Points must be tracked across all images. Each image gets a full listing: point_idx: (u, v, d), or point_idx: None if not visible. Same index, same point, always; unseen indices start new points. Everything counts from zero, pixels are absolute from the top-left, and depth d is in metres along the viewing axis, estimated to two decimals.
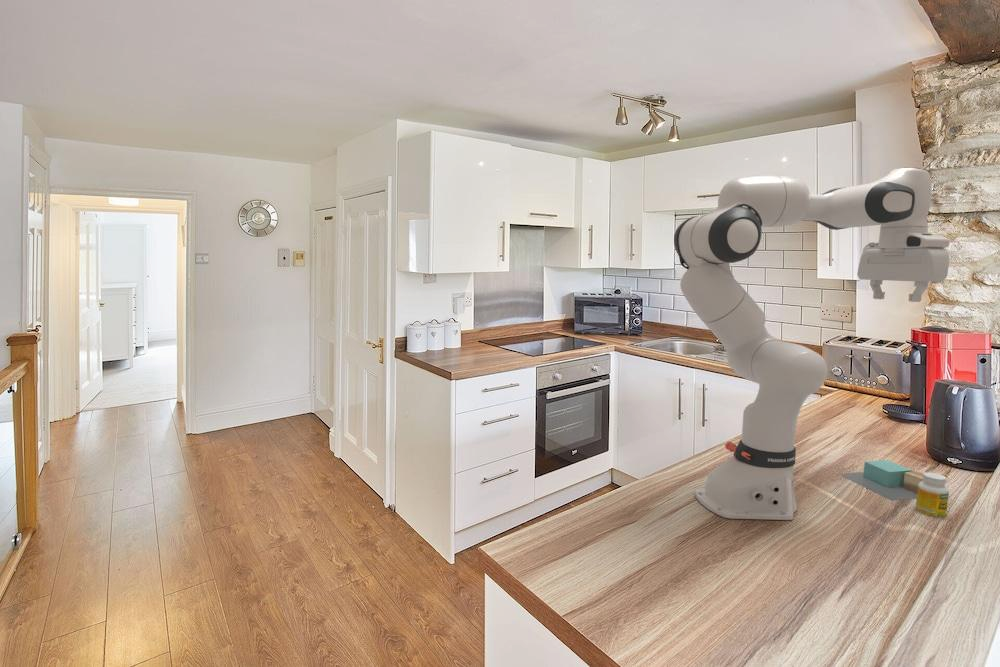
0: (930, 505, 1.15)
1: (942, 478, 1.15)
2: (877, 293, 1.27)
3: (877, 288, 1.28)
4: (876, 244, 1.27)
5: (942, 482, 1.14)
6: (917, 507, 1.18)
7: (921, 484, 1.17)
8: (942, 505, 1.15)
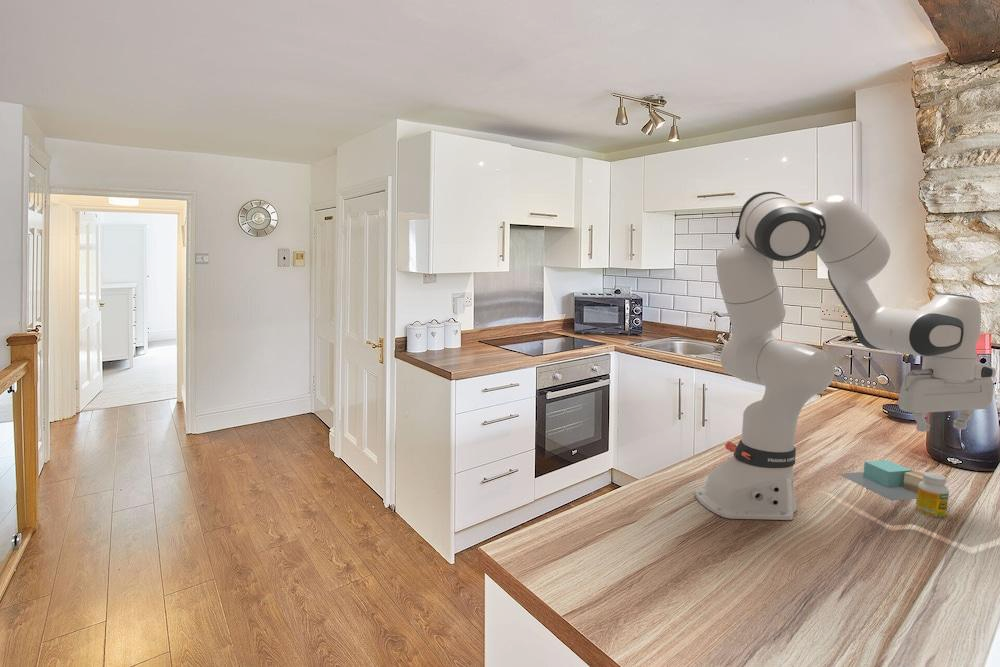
0: (930, 505, 1.15)
1: (942, 478, 1.15)
2: (929, 425, 1.13)
3: None
4: (924, 372, 1.12)
5: (942, 482, 1.14)
6: (917, 507, 1.18)
7: (921, 484, 1.17)
8: (942, 505, 1.15)
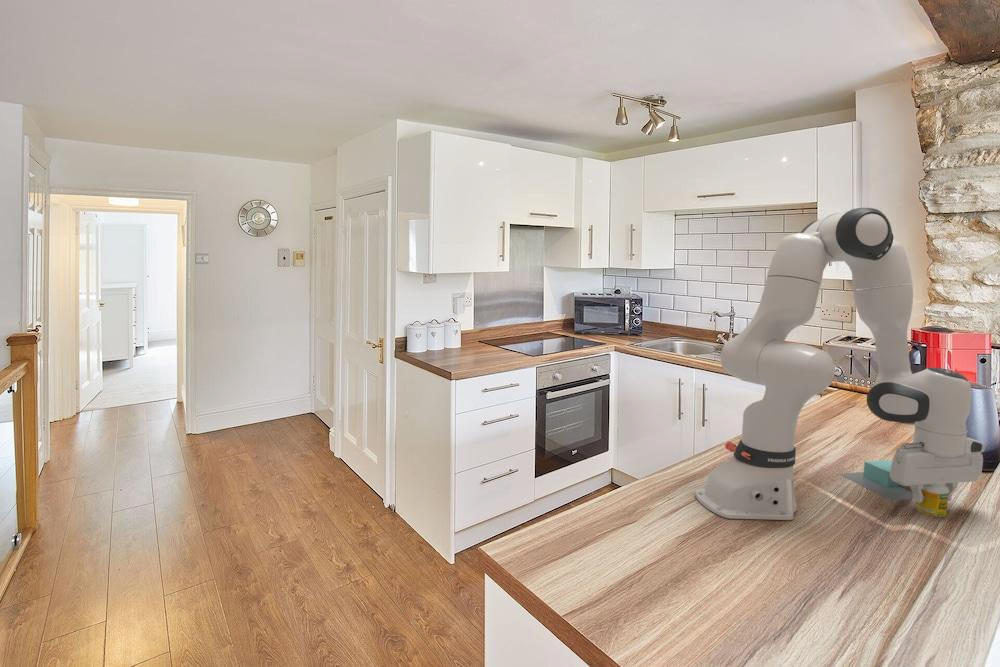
0: (930, 504, 1.15)
1: None
2: (924, 497, 1.16)
3: None
4: (916, 446, 1.14)
5: (942, 482, 1.14)
6: (917, 507, 1.18)
7: None
8: (942, 504, 1.15)
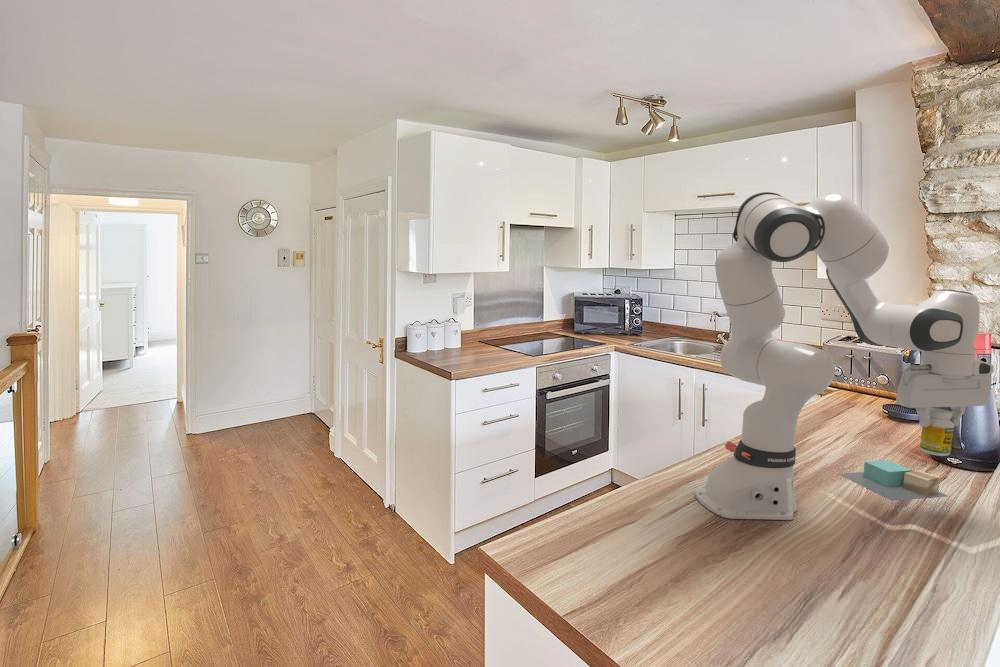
0: (935, 439, 1.14)
1: (948, 412, 1.14)
2: (931, 421, 1.14)
3: None
4: (923, 367, 1.12)
5: (947, 416, 1.13)
6: (921, 443, 1.17)
7: None
8: (947, 439, 1.13)
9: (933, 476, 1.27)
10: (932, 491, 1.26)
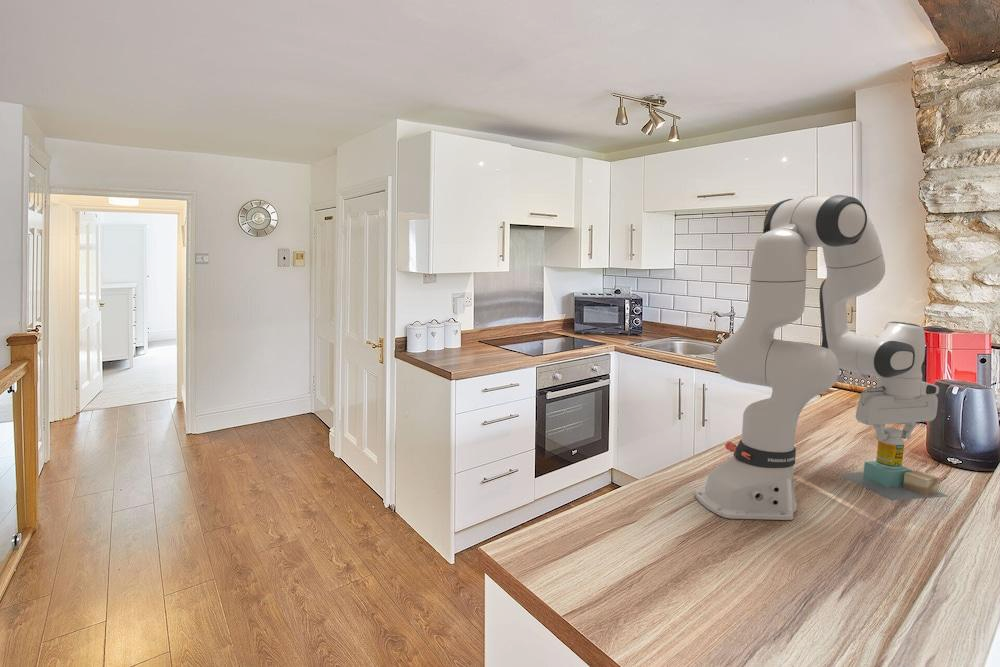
0: (888, 454, 1.31)
1: (898, 431, 1.31)
2: (886, 435, 1.31)
3: None
4: (877, 389, 1.29)
5: (898, 434, 1.31)
6: (877, 458, 1.34)
7: None
8: (898, 454, 1.31)
9: (933, 476, 1.27)
10: (932, 491, 1.26)
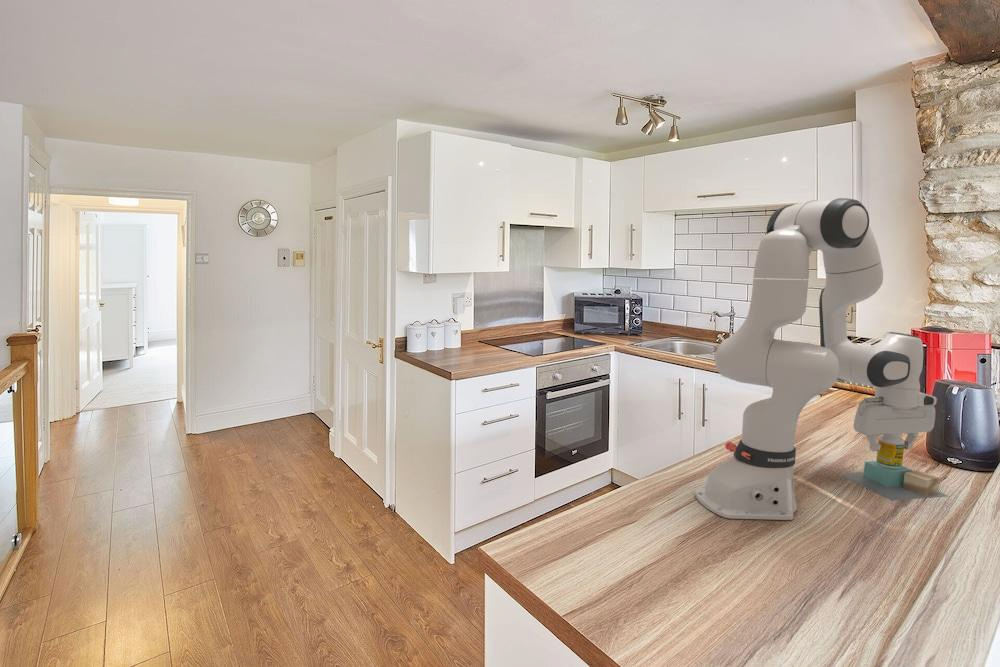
0: (888, 454, 1.31)
1: None
2: (879, 446, 1.31)
3: None
4: (875, 400, 1.30)
5: (898, 434, 1.31)
6: (877, 457, 1.34)
7: (881, 437, 1.33)
8: (898, 454, 1.31)
9: (933, 476, 1.27)
10: (932, 491, 1.26)
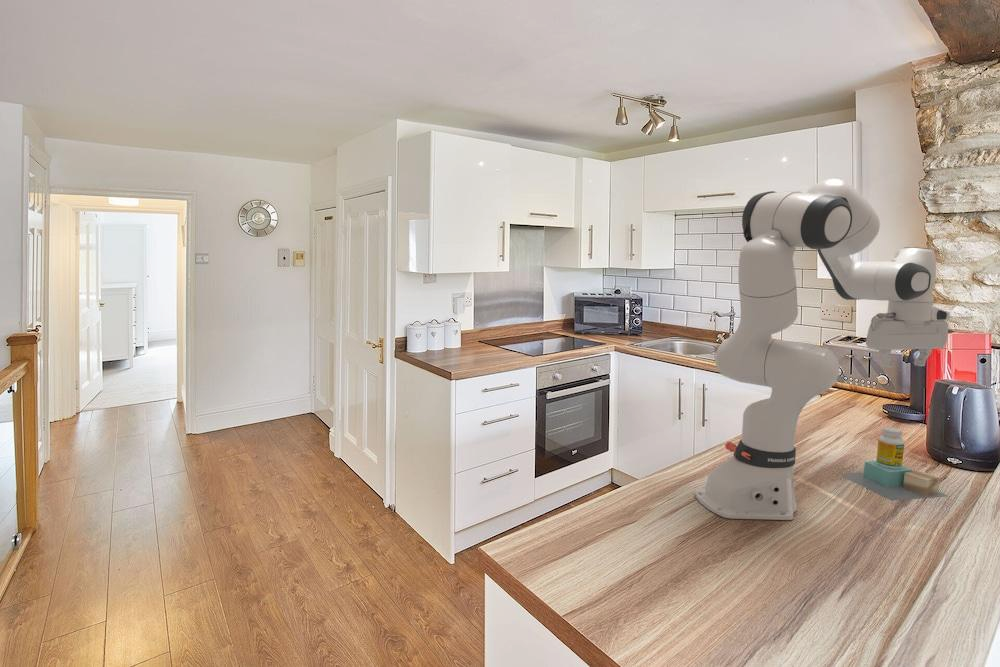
0: (888, 454, 1.31)
1: (898, 431, 1.31)
2: (892, 362, 1.32)
3: None
4: (888, 315, 1.30)
5: (898, 434, 1.31)
6: (877, 457, 1.34)
7: (881, 437, 1.33)
8: (898, 454, 1.31)
9: (933, 476, 1.27)
10: (932, 491, 1.26)
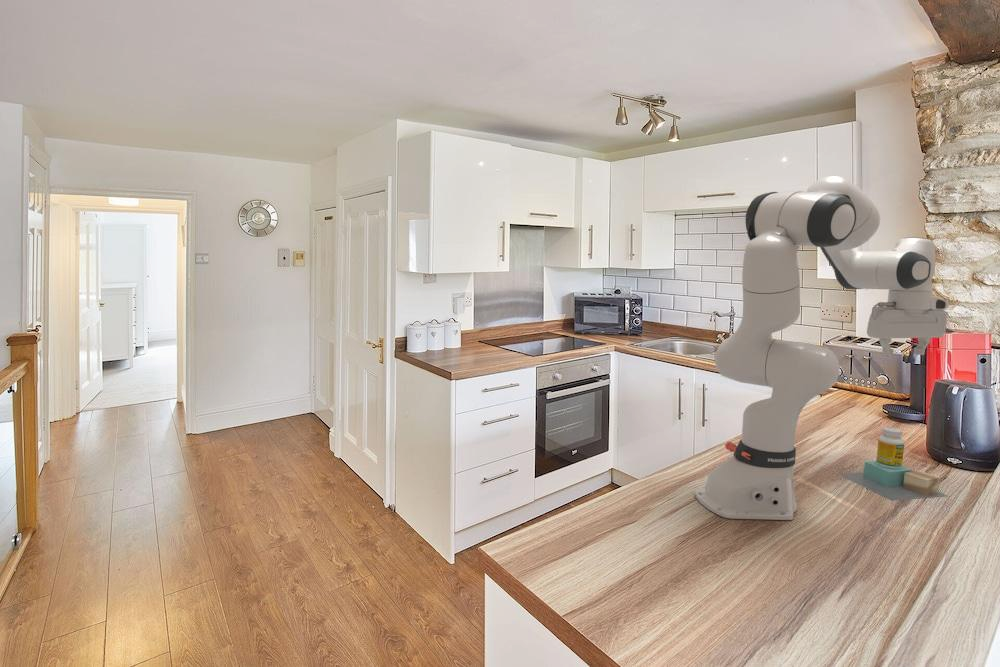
0: (888, 454, 1.31)
1: (898, 431, 1.31)
2: (892, 350, 1.34)
3: None
4: (889, 304, 1.32)
5: (898, 434, 1.31)
6: (877, 457, 1.34)
7: (881, 437, 1.33)
8: (898, 454, 1.31)
9: (933, 476, 1.27)
10: (932, 491, 1.26)
